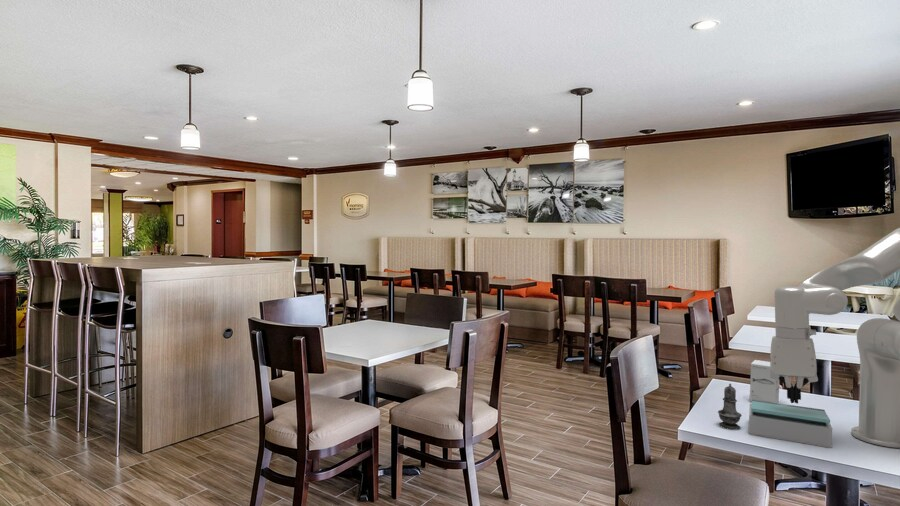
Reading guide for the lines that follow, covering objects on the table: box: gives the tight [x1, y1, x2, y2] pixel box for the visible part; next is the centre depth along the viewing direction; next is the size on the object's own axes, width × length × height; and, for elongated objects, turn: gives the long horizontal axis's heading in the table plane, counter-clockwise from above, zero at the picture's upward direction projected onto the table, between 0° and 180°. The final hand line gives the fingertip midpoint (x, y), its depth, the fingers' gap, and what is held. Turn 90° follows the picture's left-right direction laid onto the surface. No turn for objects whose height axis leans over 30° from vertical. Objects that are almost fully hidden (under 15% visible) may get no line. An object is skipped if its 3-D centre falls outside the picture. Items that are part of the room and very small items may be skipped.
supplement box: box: [749, 359, 780, 403], centre depth 167 cm, size 7×7×13 cm
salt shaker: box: [717, 383, 742, 430], centre depth 145 cm, size 6×6×12 cm
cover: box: [751, 400, 831, 424], centre depth 139 cm, size 17×13×1 cm
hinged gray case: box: [748, 402, 833, 449], centre depth 139 cm, size 18×12×5 cm, turn 59°
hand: (794, 401), depth 138 cm, fingers closed
